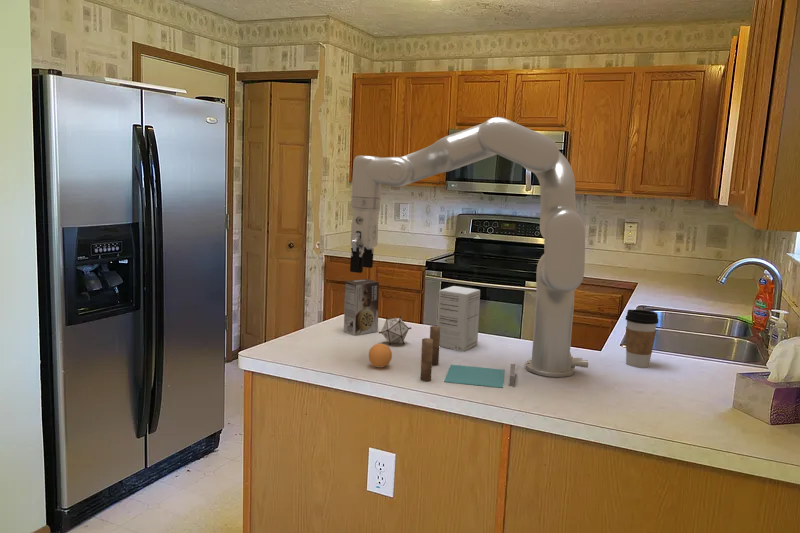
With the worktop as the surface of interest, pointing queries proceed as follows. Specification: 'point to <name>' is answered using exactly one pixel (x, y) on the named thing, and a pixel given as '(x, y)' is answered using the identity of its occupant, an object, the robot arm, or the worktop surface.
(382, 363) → the ball
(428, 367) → the post near
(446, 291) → the supplement box
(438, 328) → the post far
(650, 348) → the coffee cup
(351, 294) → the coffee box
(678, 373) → the worktop surface
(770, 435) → the worktop surface
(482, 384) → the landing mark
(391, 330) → the game die
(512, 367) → the stopper strip
